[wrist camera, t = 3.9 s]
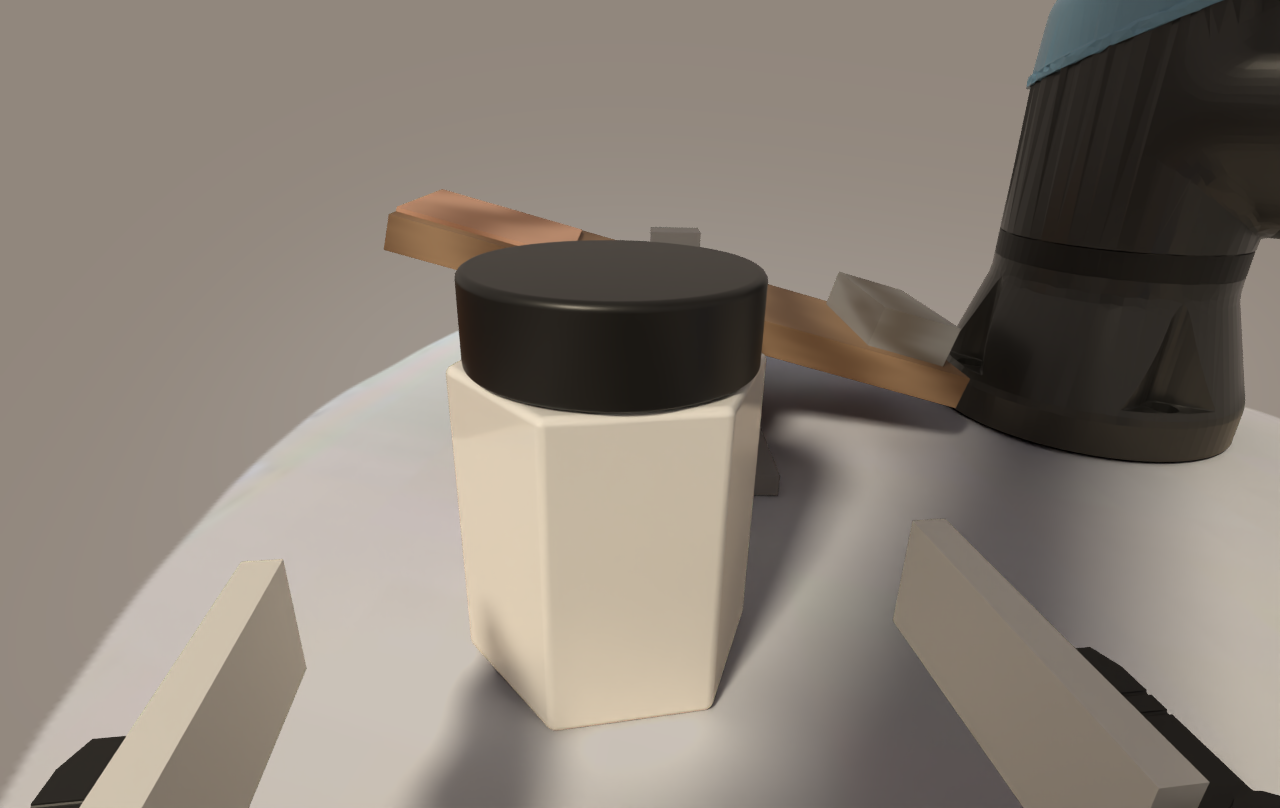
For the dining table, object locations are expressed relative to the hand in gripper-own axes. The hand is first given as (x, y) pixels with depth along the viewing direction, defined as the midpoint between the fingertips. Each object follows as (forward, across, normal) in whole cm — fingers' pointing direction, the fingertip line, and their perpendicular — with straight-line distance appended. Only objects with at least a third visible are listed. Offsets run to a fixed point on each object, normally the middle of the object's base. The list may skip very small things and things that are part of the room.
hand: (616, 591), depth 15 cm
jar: (+6, 0, -6) cm, 9 cm away
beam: (+24, +6, +1) cm, 24 cm away
